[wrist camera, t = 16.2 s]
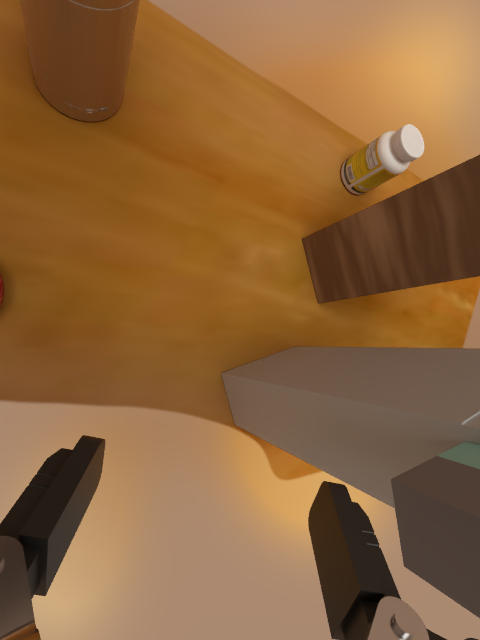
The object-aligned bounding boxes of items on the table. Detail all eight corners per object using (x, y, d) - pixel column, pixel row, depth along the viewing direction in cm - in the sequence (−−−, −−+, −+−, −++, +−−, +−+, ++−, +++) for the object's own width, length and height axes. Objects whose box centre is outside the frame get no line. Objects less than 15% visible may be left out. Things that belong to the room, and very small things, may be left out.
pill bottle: (372, 180, 57) (434, 145, 47) (356, 203, 55) (417, 172, 45) (350, 151, 55) (409, 109, 45) (333, 174, 53) (391, 135, 43)
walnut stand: (318, 303, 50) (675, 242, 20) (301, 239, 50) (644, 76, 20) (380, 284, 56) (727, 215, 26) (367, 226, 56) (704, 88, 26)
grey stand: (234, 424, 43) (522, 575, 15) (220, 373, 43) (489, 428, 15) (306, 392, 48) (619, 459, 20) (294, 346, 48) (596, 349, 20)
